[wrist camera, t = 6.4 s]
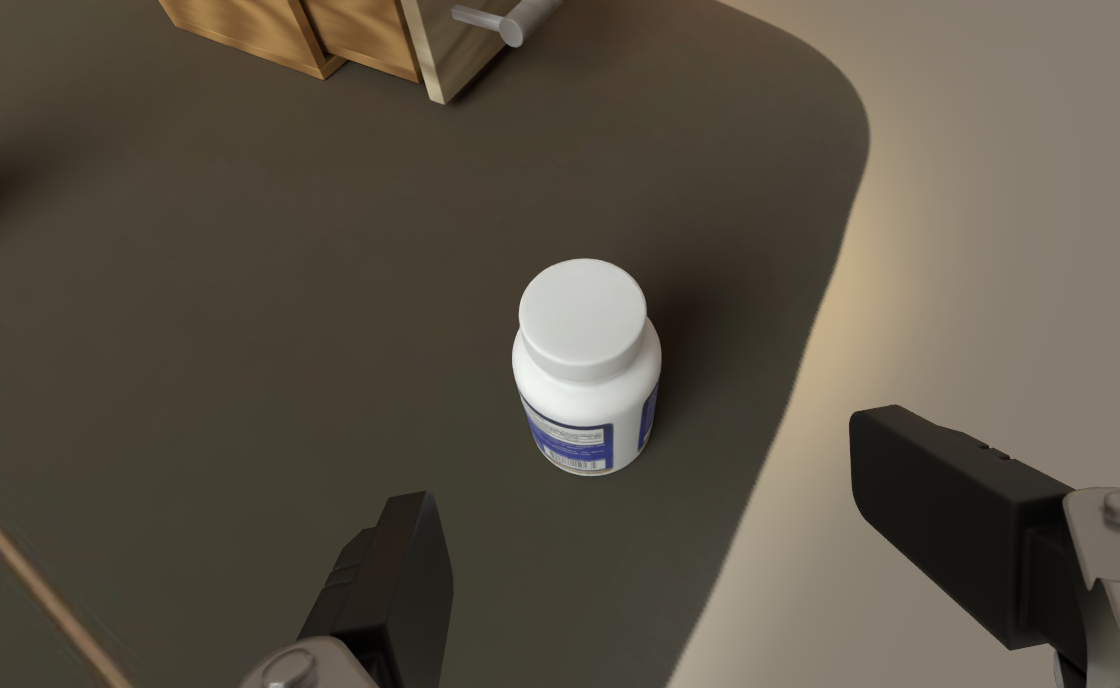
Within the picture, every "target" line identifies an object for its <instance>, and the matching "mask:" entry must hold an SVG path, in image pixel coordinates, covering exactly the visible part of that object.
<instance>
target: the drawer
mask: <svg viewBox="0 0 1120 688" xmlns="http://www.w3.org/2000/svg"><path fill="white" fill-rule="evenodd" d="M564 1H565V0H299V2H300V4H301V6H302V9H303V11H304V13H305V15H306V18H307V20H308V22H309V24H310V27H311V29H312V31H313V33H314V36H315V38H316V40H317V42H318V45H319V47H320V49H321V50H322V51H325V52H328V53H331V54H334V55H336V56H339V57H342V58H345V59H348V60H351V61H354V62H357V63H360V64H363V65H366V66H369V67H372V68H375V69H378V70H381V71H383V72H386V73H389V74H392V75H395V76H398V77H401V78H404V79H407V80H410V81H413V82H416V83H420V82H421V81H422V80H423V79H424V81H425V84H426V87H427V91H428V94H429V97H430V100H432V101H435V102H438V103H440V104H443V105H445V104H446V103H447V102H448V101H449V100H450V99H451V98H452V97H453V96H454V95H455V94H456V93H457V92H458V91H459V90H460V89H461V88H462V87H463V86H464V85H465V84H466V83H467V82H468V81H469V80H470V79H471V78H472V77H473V76H474V75H475V74H476V73H477V72H478V71H479V70H480V69H481V68H482V67H483V66H484V65H485V64H486V63H487V62H488V61H489V60H490V59H491V58H492V57H494V56H495V55H496V54H497V53H498V52H499V51H500V50H501V49H502V48H503V47H504V46H505V45H506V44H508V45H509V46H511V47H519V46H521V45H522V44H523V43H524V42H525V41H526V40H527V39H528V38H529V37H530V36H531V35H532V34H533V33H534V32H535V31H536V30H537V29H538V28H539V27H540V26H541V24H542V23H543V22H544V21H545V20H546V19H547V18H548V17H549V16H550V15H551V14H552V13H553V12H554V11H555V10H556V9H557V8H558V7H559V6H560V5H561V4H562V3H563V2H564Z"/></svg>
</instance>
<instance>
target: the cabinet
mask: <svg viewBox="0 0 1120 688" xmlns="http://www.w3.org/2000/svg"><path fill="white" fill-rule="evenodd" d="M159 2H160V3H161V5H162V6H163V8H164V9H165V11H166V12H167V14H168V16H170V19H171V20H172V22H173V23H174V25H175V26H176V27H178V28H181V29H184V30H186V31H189V32H192V33H195V34H198V35H200V36H203V37H206V38H209V39H211V40H214V41H217V42H220V43H222V44H225V45H228V46H231V47H233V48H236V49H239V50H242V51H245V52H247V53H250V54H253V55H256V56H258V57H261V58H264V59H267V60H269V61H272V62H275V63H278V64H280V65H283V66H286V67H289V68H292V69H294V70H297V71H300V72H303V73H305V74H308V75H311V76H314V77H316V78H319V79H322V80H325V79H326V78H327V77H329V76H330V75H331V74H332V73H333V72H335V71H336V70H337V69H338V68H339V67H340V66H342V65H343V64H344V63H345V62H346V61H348V59H345V58H342V57H339V56H336V55H334V54H331V53H328V52H325V51H322V50H321V49H320V47H319V45H318V42H317V40H316V38H315V36H314V33H313V31H312V29H311V27H310V24H309V22H308V20H307V18H306V15H305V13H304V11H303V9H302V6H301V4H300V2H299V0H159Z"/></svg>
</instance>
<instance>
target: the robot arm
mask: <svg viewBox="0 0 1120 688" xmlns="http://www.w3.org/2000/svg"><path fill="white" fill-rule="evenodd" d="M849 434H850V435H849V436H850V458H851V479H852V491H853V496H854V499H855V502H856V505H857V507H858V509H859V511H860V513H861V514H862V516H863V517H864V518H865V520H866V521H867V522H868V523H869V524H870V525H872V526H873V527H874V528H875V529H876V530H877V531H878V532H879V533H880V534H882V535H883V536H884V537H885V538H886V539H887V540H888V541H889V542H890V543H892V544H893V545H894V546H895V547H896V548H897V549H898V550H899V551H900V552H901V553H903V554H904V555H905V556H906V557H907V558H908V559H909V560H910V561H911V562H912V563H914V564H915V565H916V566H917V567H918V568H919V569H920V570H921V571H922V572H923V573H925V574H926V575H927V576H928V577H929V578H930V579H931V580H932V581H934V582H935V583H936V584H937V585H938V586H939V587H940V588H941V589H942V590H943V591H944V592H946V593H947V594H948V595H949V596H950V597H951V598H952V599H953V600H954V601H955V602H957V603H958V604H959V605H960V606H961V607H962V608H963V609H964V610H965V611H967V612H968V613H969V614H970V615H971V616H972V617H973V618H974V619H976V620H977V621H978V622H979V623H980V624H981V625H982V626H983V627H984V628H985V629H986V630H988V631H989V632H990V633H991V634H992V635H993V636H994V637H995V638H997V639H998V640H999V641H1000V642H1001V643H1002V644H1003V645H1004V646H1005V647H1006V648H1007V649H1009V650H1016V649H1020V648H1025V647H1031V646H1035V645H1041V644H1045V643H1049V644H1050V645H1051V646H1052V647H1054V648H1055V655H1054V656H1055V657H1054V674H1055V680H1056V685H1057V688H1120V488H1115V487H1092V488H1084V489H1079V490H1075V489H1073V488H1071V487H1069V486H1067V485H1065V484H1063V483H1061V482H1059V481H1058V480H1055V479H1053V478H1052V477H1050V476H1048V475H1046V474H1044V473H1042V472H1040V471H1038V470H1036V469H1034V468H1032V467H1030V466H1028V465H1026V464H1024V463H1022V462H1020V461H1018V460H1016V459H1010V457H1009V455H1007V454H1004V453H1003V452H1001V451H999V450H997V449H995V448H989V446H988V445H987V444H985V443H983V442H981V441H979V440H977V439H975V438H973V437H971V436H969V435H967V434H965V433H963V432H959V431H956V430H952V429H948V428H945V427H941V426H937V425H935V424H933V423H932V422H930V421H928V420H926V419H924V418H922V417H920V416H918V415H916V414H914V413H913V412H910V411H909V410H907V409H905V408H903V407H901V406H899V405H889V406H884V407H879V408H873V409H868V410H862V411H857V412H854V413H853V414H852V416H851V418H850V422H849ZM452 602H453V575H452V568H451V563H450V558H449V554H448V550H447V546H446V542H445V538H444V534H443V530H442V526H441V522H440V517H439V513H438V509H437V505H436V501H435V498H434V496H433V494H432V492H431V491H430V490H427V491H421V492H416V493H411V494H405V495H400V496H395V497H390V498H389V499H388V501H387V503H386V505H385V507H384V510H383V512H382V514H381V516H380V519H379V521H378V523H377V526H376V527H373V528H368V529H363V530H362V531H361V532H360V533H359V534H358V535H357V536H356V537H354V538H353V539H352V540H351V541H350V542H349V543H348V544H347V545H346V546H345V547H344V548H343V549H342V551H341V553H340V555H339V557H338V559H337V561H336V563H335V565H334V567H333V572H331V573H330V575H329V577H328V579H327V581H326V583H325V588H324V589H322V591H321V593H320V595H319V597H318V598H317V600H316V602H315V604H314V606H313V608H312V610H311V612H310V614H309V616H308V618H307V620H306V622H305V624H304V626H303V628H302V630H301V632H300V634H299V636H298V638H297V640H296V641H295V642H292V643H290V644H288V645H285V646H283V647H281V648H280V649H278V650H276V651H274V652H273V653H271V654H269V655H268V656H266V657H265V658H264V659H262V660H261V661H260V662H258V663H257V664H256V665H255V666H254V667H253V668H252V669H250V670H249V671H248V672H247V673H246V675H245V676H244V677H243V678H242V679H241V680H240V682H239V683H238V685H237V686H236V688H438V686H439V680H440V674H441V668H442V662H443V656H444V650H445V644H446V638H447V632H448V626H449V620H450V614H451V608H452Z"/></svg>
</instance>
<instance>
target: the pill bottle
mask: <svg viewBox="0 0 1120 688" xmlns="http://www.w3.org/2000/svg"><path fill="white" fill-rule="evenodd" d="M519 321H520V329H519V331H518V333H517V335H516V338H515V341H514V346H513V353H512V365H513V371H514V376H515V380H516V384H517V387H518V390H519V393H520V396H521V400H522V403H523V406H524V409H525V412H526V415H527V418H528V421H529V424H530V427H531V430H532V433H533V436H534V439H535V441H536V443H537V445H538V447H539V449H540V450H541V451H542V453H543V454H544V455H545V456H546V457H547V458H548V460H550V461H551V462H552V463H553V464H555V465H556V466H558V467H559V468H561V469H563V470H565V471H567V472H570V473H573V474H577V475H583V476H599V475H605V474H608V473H612V472H615V471H617V470H619V469H621V468H623V467H625V466H627V465H628V464H629V463H631V462H632V461H633V460H634V459H635V458H636V457H637V456H638V455H639V454H640V453H641V451H642V450H643V448H644V447H645V445H646V443H647V441H648V438H649V436H650V432H651V428H652V423H653V417H654V411H655V405H656V398H657V391H658V385H659V378H660V371H661V346H660V341H659V338H658V335H657V332H656V330H655V328H654V326H653V324H652V323H651V321H650V320H649V318H648V317H647V307H646V301H645V297H644V294H643V292H642V290H641V288H640V287H639V285H638V284H637V282H636V281H635V280H634V278H633V277H631V276H630V275H629V274H628V273H627V272H625V271H624V270H623V269H621V268H619V267H617V266H615V265H613V264H611V263H608V262H605V261H601V260H596V259H573V260H568V261H563V262H560V263H557V264H555V265H553V266H551V267H549V268H547V269H545V270H544V271H542V272H541V273H540V274H539V275H538V276H536V277H535V278H534V279H533V280H532V282H531V283H530V284H529V285H528V287H527V288H526V290H525V292H524V294H523V297H522V299H521V302H520V307H519Z"/></svg>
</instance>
